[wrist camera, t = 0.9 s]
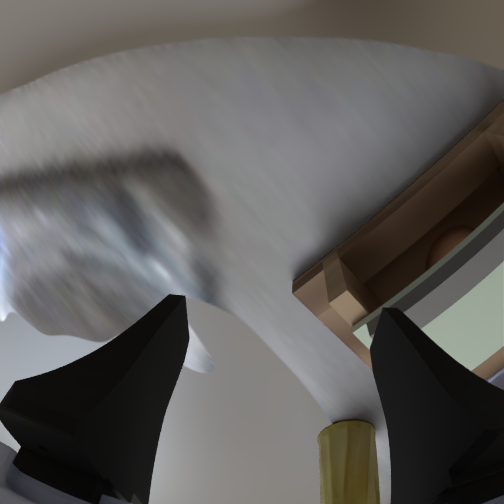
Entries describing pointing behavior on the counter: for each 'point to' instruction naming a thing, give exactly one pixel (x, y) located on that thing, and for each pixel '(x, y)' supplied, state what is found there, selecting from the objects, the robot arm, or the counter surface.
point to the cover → (457, 298)
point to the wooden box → (409, 237)
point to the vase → (348, 464)
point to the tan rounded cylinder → (446, 243)
